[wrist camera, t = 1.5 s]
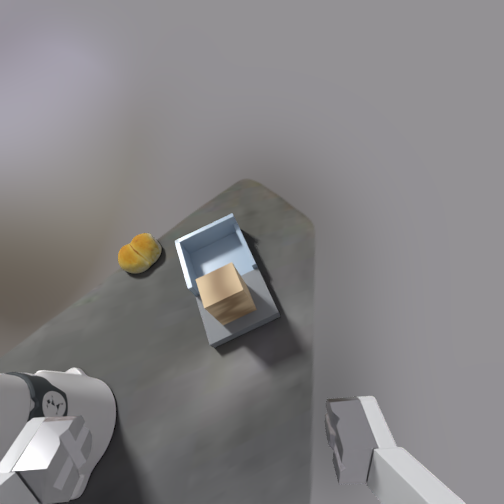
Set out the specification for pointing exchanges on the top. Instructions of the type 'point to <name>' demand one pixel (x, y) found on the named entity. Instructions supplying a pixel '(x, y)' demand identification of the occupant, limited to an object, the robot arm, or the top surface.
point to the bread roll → (139, 253)
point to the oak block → (225, 294)
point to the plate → (248, 322)
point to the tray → (213, 251)
